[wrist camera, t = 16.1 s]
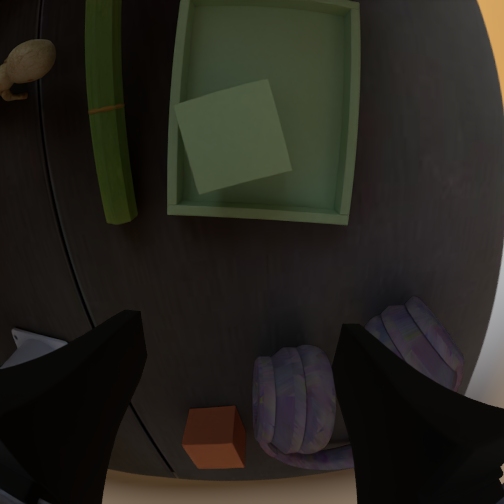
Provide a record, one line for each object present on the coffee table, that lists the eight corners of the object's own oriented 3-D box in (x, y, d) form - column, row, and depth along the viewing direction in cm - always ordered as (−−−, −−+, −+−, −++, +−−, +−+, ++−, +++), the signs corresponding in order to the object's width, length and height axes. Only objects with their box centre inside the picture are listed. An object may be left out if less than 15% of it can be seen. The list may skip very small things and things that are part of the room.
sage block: (284, 164, 18) (293, 170, 14) (212, 183, 18) (198, 195, 14) (265, 93, 16) (268, 78, 12) (192, 113, 17) (173, 105, 13)
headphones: (210, 344, 22) (292, 443, 31) (203, 441, 15) (300, 502, 24) (438, 254, 19) (435, 389, 28) (504, 324, 12) (461, 443, 21)
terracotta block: (246, 431, 27) (244, 467, 23) (203, 434, 27) (198, 468, 23) (235, 405, 25) (232, 443, 21) (189, 408, 26) (181, 444, 22)
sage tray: (339, 217, 19) (348, 225, 17) (176, 207, 19) (167, 214, 17) (350, 14, 14) (359, 2, 13) (188, 3, 14) (181, -10, 12)
